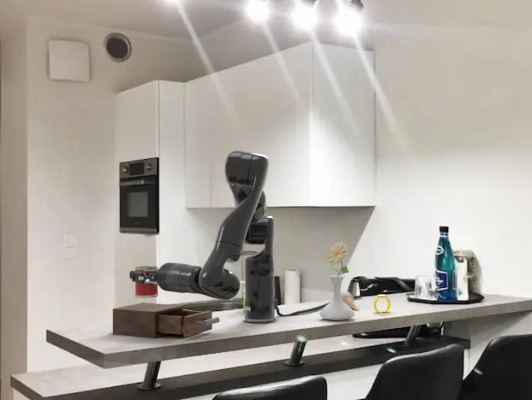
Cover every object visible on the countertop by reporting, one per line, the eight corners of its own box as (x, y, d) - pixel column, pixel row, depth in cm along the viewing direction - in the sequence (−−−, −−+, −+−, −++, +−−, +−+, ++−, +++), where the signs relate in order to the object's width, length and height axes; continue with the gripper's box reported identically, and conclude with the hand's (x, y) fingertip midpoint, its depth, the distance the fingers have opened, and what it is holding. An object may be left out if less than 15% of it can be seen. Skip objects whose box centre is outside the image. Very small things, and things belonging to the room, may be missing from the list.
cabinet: (183, 329, 208) (183, 305, 208) (154, 337, 195) (154, 311, 195) (142, 326, 214) (142, 302, 214) (112, 334, 201) (112, 308, 201)
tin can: (144, 294, 197) (144, 265, 197) (162, 295, 195) (162, 266, 195) (130, 297, 192) (130, 267, 192) (148, 298, 189) (148, 268, 189)
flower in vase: (314, 317, 230) (314, 240, 230) (346, 315, 234) (346, 240, 234) (329, 323, 218) (329, 242, 218) (363, 321, 222) (362, 242, 222)
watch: (387, 311, 244) (387, 294, 244) (391, 312, 241) (391, 294, 241) (372, 312, 241) (372, 295, 241) (376, 313, 239) (376, 295, 239)
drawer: (224, 330, 201) (224, 311, 201) (200, 338, 190) (200, 318, 190) (173, 326, 209) (173, 308, 209) (146, 333, 197) (146, 314, 197)
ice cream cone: (365, 312, 247) (351, 297, 261) (360, 301, 245) (346, 287, 259) (353, 319, 246) (339, 303, 260) (348, 308, 244) (335, 293, 258)
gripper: (200, 261, 189) (163, 258, 200) (155, 265, 178) (118, 261, 190) (200, 289, 189) (163, 285, 200) (155, 295, 178) (118, 289, 190)
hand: (141, 273), depth 195 cm, fingers closed on tin can, 6 cm apart
